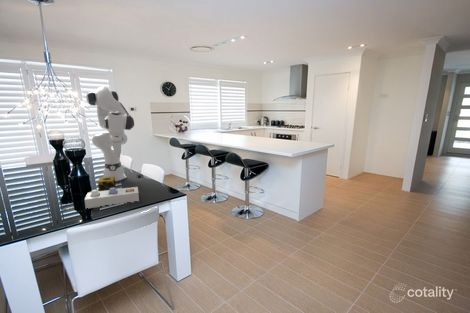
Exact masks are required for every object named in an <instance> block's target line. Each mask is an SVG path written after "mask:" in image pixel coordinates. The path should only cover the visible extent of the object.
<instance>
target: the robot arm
mask: <svg viewBox="0 0 470 313" xmlns="http://www.w3.org/2000/svg"><path fill="white" fill-rule="evenodd" d="M85 98H86V101H87V103H88V104H89V105H90V106H96V114H97V119H98V124H99V127H100V128H101V129H104V130H106V131H107V132H105V133H104V132H101V133H98V134H94V135H93V136H92V139H91V140H92V144H93V146H95V147H96V148H98V149H99V150H100V151H101V152H102V153H103V154H102V155H103V158H104V169H103V170H102V171H103V177H113V176H115V182H118V181H121V180H124V179H126V178H127V175H126V174H125V172H124V168H123V167H122V162H121V154H122V146H123V145H125V144H126V143H127V142H128V135H127V134H126V133H125V130H126V131H127V130H128V131H130V130H132V129H133V128H134V126H135V121H134V118H133V116H132V115H130V113H129V112H128V111H127V109H126V108H125V106H124V105H123V104H122V102H120V101H119V99H120V96H119V94H118V93H117V91H115V90H110V89H109V88H107V87H106V86H100V87H98V88H97V89H96V91H91V90H90V91H88V92H87V93H86V97H85Z"/></svg>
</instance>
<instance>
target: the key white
mask: <svg viewBox="0 0 470 313" xmlns="http://www.w3.org/2000/svg"><path fill="white" fill-rule="evenodd" d="M90 192H91V194H92V197H93V196H99V190H98V189H92V190H91V191H90Z"/></svg>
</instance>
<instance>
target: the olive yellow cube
mask: <svg viewBox="0 0 470 313" xmlns="http://www.w3.org/2000/svg"><path fill="white" fill-rule="evenodd" d="M97 186H98V188H97V190H99V191H106V190H109V189H110V188H116V189H117V184H116V181H115V176H113V177H104V176H102V177H100V176H99V179H98V180H97Z"/></svg>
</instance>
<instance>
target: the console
mask: <svg viewBox="0 0 470 313" xmlns="http://www.w3.org/2000/svg"><path fill="white" fill-rule="evenodd" d="M127 189H133V192H127ZM116 192H117V194H110V192H109V190H106V191H99V196H93V197H92V194H91V191H89V192H87V194H86V195H85V197H84V206H85V209H87V208H88V209H92V208H93V209H94V208H100V206H102V207H106V206H105V205H109V206H113V205H112V204H116V205H120V204H119V203H123V204H128V203H127V202H131V203H135V202H134V201H138V202H140V195H139V187H138V186H133V187H123V188H116ZM88 209H87V210H88Z"/></svg>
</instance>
